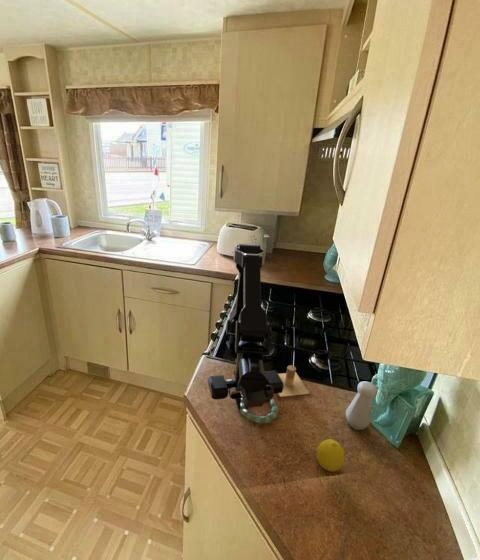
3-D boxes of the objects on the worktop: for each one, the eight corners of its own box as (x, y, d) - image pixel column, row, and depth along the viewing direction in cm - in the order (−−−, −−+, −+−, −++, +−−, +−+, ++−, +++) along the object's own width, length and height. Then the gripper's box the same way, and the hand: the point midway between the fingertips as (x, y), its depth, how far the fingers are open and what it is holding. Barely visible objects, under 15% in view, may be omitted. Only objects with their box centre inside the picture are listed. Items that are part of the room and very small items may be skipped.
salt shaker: (372, 433, 79) (387, 395, 74) (349, 432, 79) (362, 394, 74) (361, 414, 84) (374, 377, 79) (340, 414, 84) (351, 376, 79)
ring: (233, 396, 89) (234, 391, 89) (268, 392, 91) (269, 387, 90) (244, 427, 80) (245, 422, 79) (283, 422, 81) (284, 417, 81)
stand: (268, 377, 97) (271, 359, 94) (295, 374, 98) (299, 356, 95) (279, 399, 89) (283, 380, 86) (309, 396, 90) (313, 377, 87)
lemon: (308, 458, 73) (315, 434, 69) (329, 453, 74) (337, 429, 70) (323, 482, 68) (331, 457, 64) (345, 476, 69) (354, 451, 66)
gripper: (218, 389, 69) (215, 438, 76) (298, 381, 72) (287, 429, 79) (208, 356, 79) (206, 402, 86) (278, 351, 82) (270, 395, 88)
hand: (242, 407), depth 84 cm, fingers closed on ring, 2 cm apart
